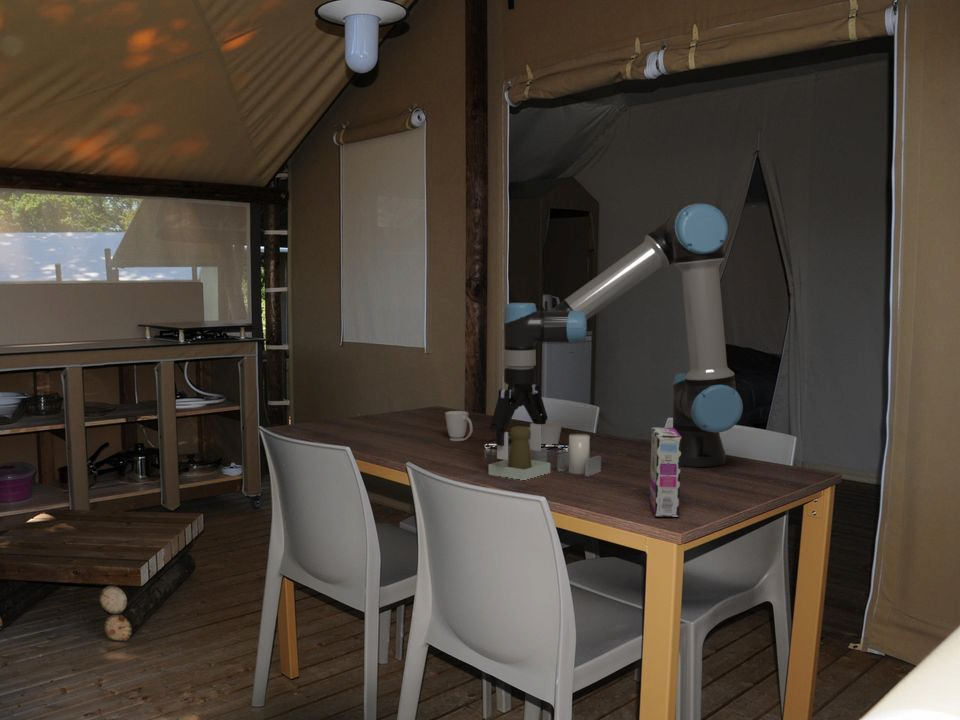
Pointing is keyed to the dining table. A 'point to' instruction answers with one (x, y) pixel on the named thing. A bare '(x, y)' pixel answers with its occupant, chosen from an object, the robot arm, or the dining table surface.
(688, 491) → the dining table surface
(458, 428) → the cup
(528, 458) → the cork
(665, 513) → the candy bar box
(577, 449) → the cream jar
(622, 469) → the dining table surface
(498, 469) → the tray
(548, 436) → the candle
